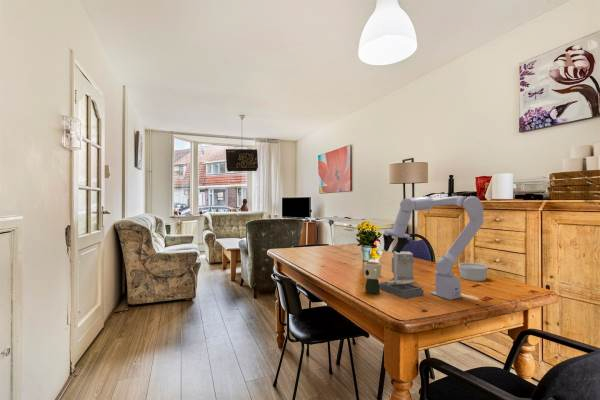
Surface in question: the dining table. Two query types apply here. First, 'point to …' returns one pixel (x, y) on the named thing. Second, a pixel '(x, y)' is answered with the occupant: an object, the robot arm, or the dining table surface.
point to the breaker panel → (402, 289)
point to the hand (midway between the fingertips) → (391, 251)
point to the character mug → (372, 276)
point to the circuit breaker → (403, 266)
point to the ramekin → (473, 271)
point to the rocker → (400, 282)
